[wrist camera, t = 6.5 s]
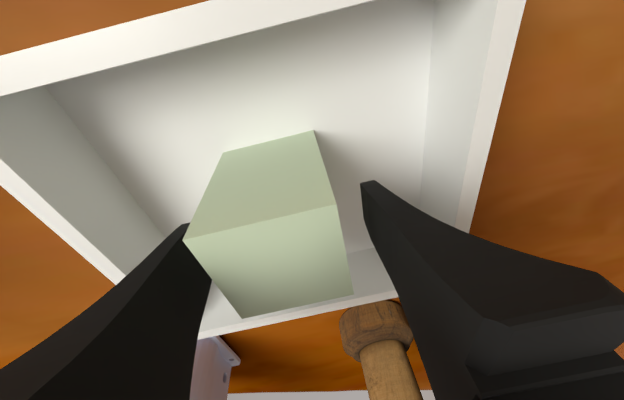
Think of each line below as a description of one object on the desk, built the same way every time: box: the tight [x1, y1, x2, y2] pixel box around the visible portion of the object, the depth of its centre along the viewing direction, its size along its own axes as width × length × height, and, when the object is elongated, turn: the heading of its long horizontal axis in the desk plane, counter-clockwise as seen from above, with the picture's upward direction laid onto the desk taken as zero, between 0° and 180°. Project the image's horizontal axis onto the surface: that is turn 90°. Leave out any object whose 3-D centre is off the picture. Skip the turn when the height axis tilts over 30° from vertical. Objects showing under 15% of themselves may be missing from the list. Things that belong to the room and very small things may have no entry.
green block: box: [182, 130, 354, 319], centre depth 11 cm, size 4×4×6 cm
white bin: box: [0, 0, 526, 340], centre depth 12 cm, size 15×17×4 cm
